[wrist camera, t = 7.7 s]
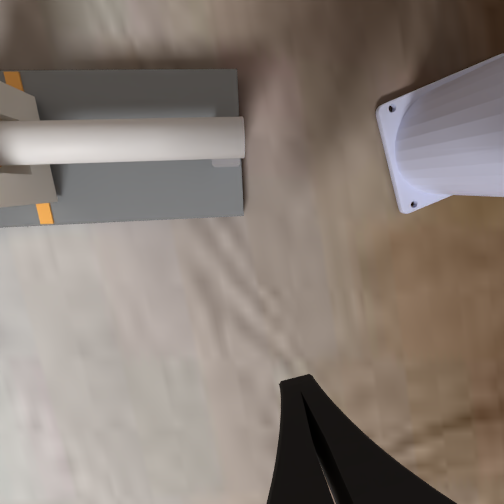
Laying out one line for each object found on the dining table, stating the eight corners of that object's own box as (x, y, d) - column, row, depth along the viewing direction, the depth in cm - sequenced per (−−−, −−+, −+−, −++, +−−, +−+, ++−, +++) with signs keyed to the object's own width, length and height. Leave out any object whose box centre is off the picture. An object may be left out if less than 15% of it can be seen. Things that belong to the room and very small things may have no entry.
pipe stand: (236, 75, 17) (240, 24, 12) (242, 214, 19) (248, 225, 14) (-101, 78, 15) (-277, 20, 10) (-51, 228, 18) (-173, 247, 12)
